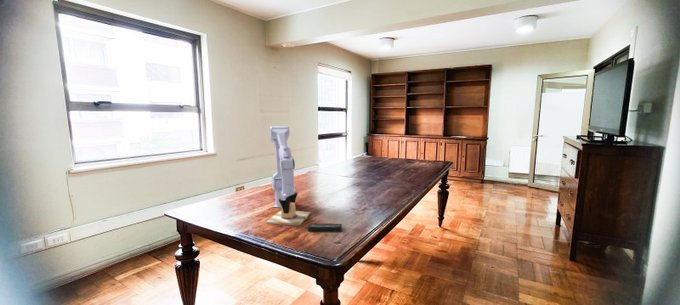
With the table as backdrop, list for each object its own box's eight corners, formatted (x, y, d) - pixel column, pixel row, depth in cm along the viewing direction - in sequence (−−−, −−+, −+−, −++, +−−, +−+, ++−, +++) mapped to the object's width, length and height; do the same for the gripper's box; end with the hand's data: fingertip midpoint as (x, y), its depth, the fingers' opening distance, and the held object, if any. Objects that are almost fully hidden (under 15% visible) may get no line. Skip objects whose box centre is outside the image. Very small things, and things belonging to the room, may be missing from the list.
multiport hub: (309, 228, 127) (309, 223, 127) (341, 228, 126) (341, 223, 126) (307, 232, 123) (307, 227, 122) (341, 232, 122) (341, 227, 122)
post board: (281, 212, 148) (280, 200, 147) (310, 214, 144) (310, 202, 143) (266, 223, 132) (265, 210, 132) (298, 226, 129) (298, 213, 128)
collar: (285, 214, 141) (285, 202, 140) (295, 214, 140) (295, 202, 140) (281, 217, 136) (281, 205, 135) (292, 218, 135) (291, 206, 134)
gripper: (285, 179, 144) (286, 205, 146) (273, 186, 130) (275, 215, 131) (298, 179, 143) (299, 206, 144) (288, 186, 128) (289, 216, 130)
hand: (289, 210), depth 138 cm, fingers open, 7 cm apart
